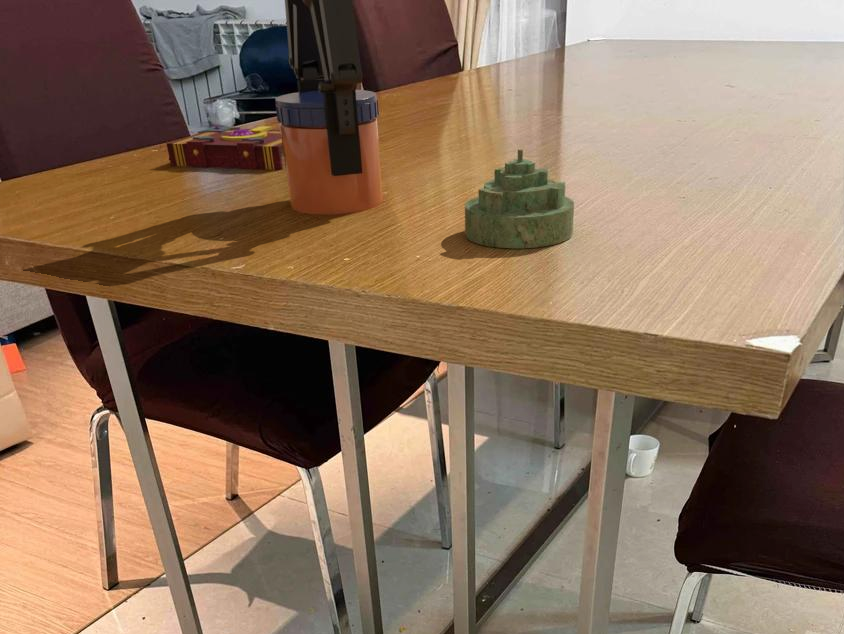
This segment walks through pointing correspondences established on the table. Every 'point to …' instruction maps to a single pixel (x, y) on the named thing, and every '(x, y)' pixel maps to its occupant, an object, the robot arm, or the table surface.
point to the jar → (313, 175)
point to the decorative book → (229, 149)
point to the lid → (320, 108)
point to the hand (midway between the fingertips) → (333, 164)
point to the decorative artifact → (519, 209)
